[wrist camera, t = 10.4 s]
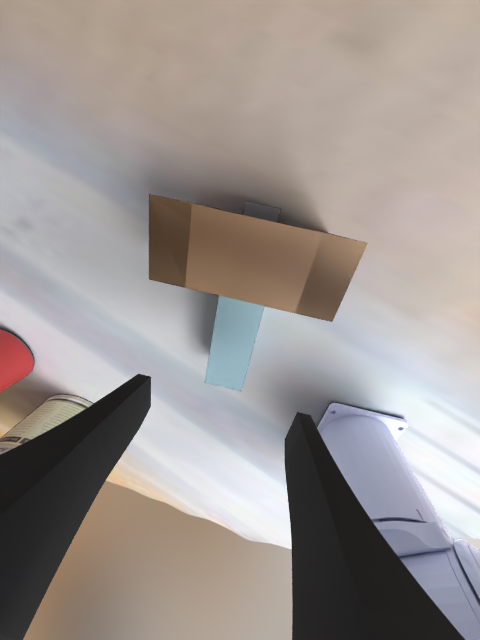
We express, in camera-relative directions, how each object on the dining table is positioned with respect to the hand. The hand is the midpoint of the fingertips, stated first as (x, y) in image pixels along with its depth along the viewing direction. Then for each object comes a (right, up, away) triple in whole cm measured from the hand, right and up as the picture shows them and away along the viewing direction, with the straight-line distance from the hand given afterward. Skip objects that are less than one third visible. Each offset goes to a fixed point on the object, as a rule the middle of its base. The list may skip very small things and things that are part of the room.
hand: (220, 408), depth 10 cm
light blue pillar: (+1, +5, +8) cm, 10 cm away
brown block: (+2, +10, +6) cm, 12 cm away
